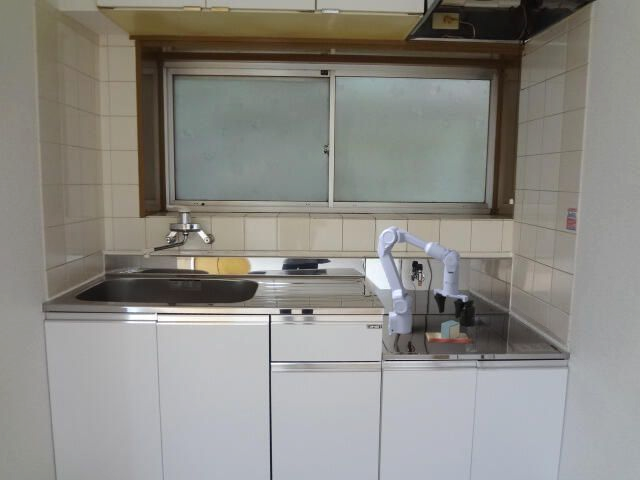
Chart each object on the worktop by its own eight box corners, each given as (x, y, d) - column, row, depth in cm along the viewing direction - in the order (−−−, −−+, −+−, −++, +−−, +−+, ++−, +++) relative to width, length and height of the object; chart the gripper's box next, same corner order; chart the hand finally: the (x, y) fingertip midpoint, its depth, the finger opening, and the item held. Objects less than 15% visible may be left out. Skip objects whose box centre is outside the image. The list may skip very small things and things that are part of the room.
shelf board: (429, 344, 173) (429, 338, 172) (425, 334, 183) (425, 329, 182) (471, 345, 172) (471, 339, 171) (465, 335, 181) (465, 329, 181)
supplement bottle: (476, 329, 188) (477, 301, 186) (459, 328, 189) (460, 301, 187) (473, 323, 195) (475, 297, 192) (457, 322, 196) (458, 296, 194)
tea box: (441, 337, 177) (441, 323, 176) (451, 334, 180) (451, 320, 179) (449, 341, 174) (449, 326, 172) (459, 337, 177) (460, 323, 176)
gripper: (429, 279, 178) (428, 312, 180) (460, 287, 166) (459, 322, 169) (440, 276, 182) (439, 308, 184) (471, 284, 171) (470, 318, 173)
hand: (449, 315), depth 177 cm, fingers open, 7 cm apart
